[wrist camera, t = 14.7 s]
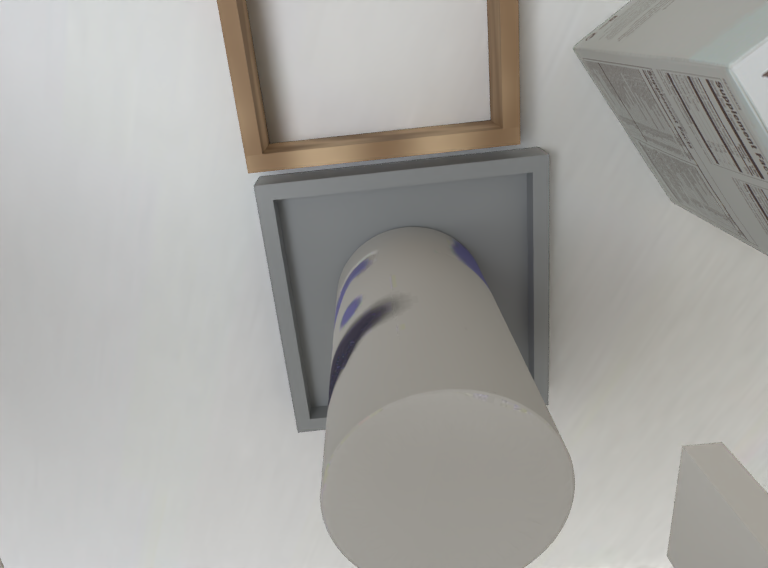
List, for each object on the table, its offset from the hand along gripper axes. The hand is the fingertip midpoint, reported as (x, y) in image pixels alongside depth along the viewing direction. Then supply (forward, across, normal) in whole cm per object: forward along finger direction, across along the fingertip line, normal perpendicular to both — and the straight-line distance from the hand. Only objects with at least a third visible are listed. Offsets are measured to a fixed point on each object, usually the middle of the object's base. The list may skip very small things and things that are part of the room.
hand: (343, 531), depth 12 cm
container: (+30, +4, -8) cm, 31 cm away
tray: (+31, +4, -8) cm, 32 cm away
